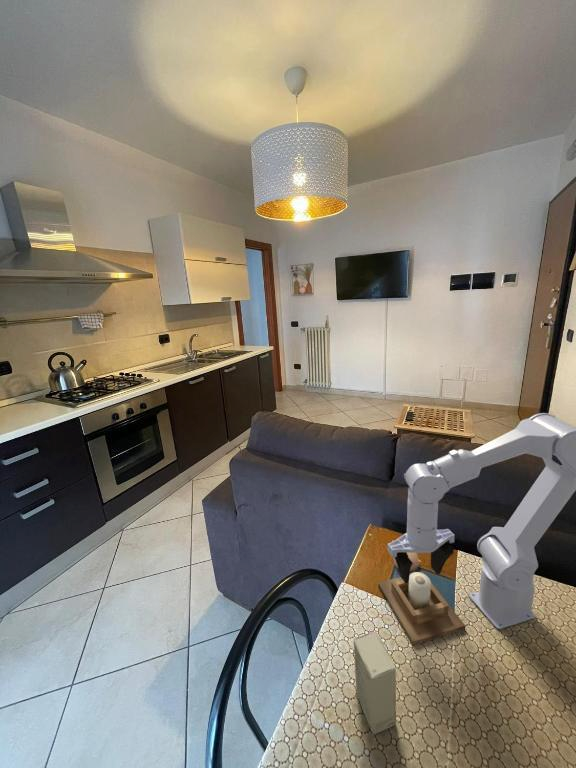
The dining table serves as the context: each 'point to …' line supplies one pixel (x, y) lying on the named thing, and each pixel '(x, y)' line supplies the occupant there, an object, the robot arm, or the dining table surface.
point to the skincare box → (375, 682)
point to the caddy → (420, 612)
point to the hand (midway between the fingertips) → (420, 574)
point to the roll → (419, 590)
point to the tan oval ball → (414, 559)
